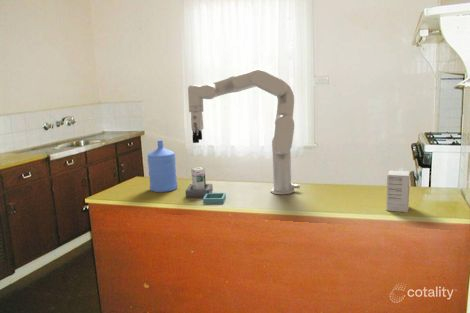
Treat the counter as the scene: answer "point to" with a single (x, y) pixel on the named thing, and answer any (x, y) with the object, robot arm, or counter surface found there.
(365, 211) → the counter surface
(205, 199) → the teal square tray
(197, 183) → the syrup box
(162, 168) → the water jug
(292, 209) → the counter surface
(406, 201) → the supplement box
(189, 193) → the grey square tray
